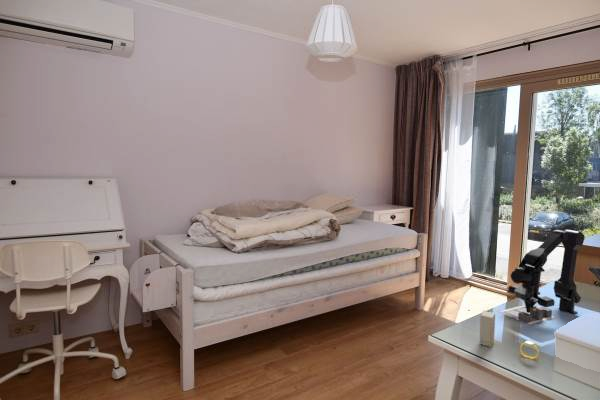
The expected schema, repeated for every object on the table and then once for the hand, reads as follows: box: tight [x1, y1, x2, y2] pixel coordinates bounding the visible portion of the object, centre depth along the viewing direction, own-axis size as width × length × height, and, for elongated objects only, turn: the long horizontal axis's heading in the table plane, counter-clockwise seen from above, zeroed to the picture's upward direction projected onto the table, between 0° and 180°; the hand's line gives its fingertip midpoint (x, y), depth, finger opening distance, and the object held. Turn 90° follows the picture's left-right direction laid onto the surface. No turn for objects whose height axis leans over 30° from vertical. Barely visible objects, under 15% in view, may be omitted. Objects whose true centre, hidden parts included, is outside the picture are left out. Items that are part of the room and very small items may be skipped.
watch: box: [519, 340, 540, 360], centre depth 136 cm, size 6×3×6 cm, turn 52°
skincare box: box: [479, 310, 496, 348], centre depth 147 cm, size 6×4×12 cm
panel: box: [497, 304, 557, 326], centre depth 171 cm, size 18×16×4 cm
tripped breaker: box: [530, 305, 543, 320], centre depth 167 cm, size 3×4×5 cm
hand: (528, 312), depth 171 cm, fingers closed
